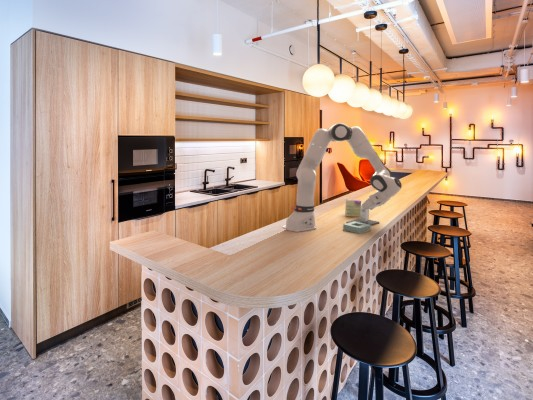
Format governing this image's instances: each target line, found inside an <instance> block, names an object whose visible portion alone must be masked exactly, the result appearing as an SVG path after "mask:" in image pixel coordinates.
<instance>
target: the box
mask: <svg viewBox="0 0 533 400" xmlns="http://www.w3.org/2000/svg"><path fill="white" fill-rule="evenodd" d="M361 205H362V200H361V199H349V198H348V199H345V208H344V209H345V212H344V215H345V217H356V218H357V217H359V218H360V211H361Z"/></svg>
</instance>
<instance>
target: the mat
mask: <svg viewBox="0 0 533 400" xmlns="http://www.w3.org/2000/svg"><path fill="white" fill-rule="evenodd" d="M354 221H356V222H360V218H357V219H353V220H349V221H346V222H345V224H346V223H350V222H354ZM360 223H361V222H360ZM365 224H369V225H371V227H372V226H375V225H378V224H380V221H377V220H373V219H369V221H368V223H365Z"/></svg>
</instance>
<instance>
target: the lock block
mask: <svg viewBox="0 0 533 400" xmlns="http://www.w3.org/2000/svg"><path fill="white" fill-rule="evenodd" d="M342 230H344V231H347V232H351V233H355V234H359V235H360V234H364V233H367V232H370V231H371V230H372V226H371V225H369V224H365V223H360V222H356V221H354V222H350V223H346V222H345V223H343V226H342Z"/></svg>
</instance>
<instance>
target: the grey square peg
mask: <svg viewBox="0 0 533 400" xmlns="http://www.w3.org/2000/svg"><path fill="white" fill-rule="evenodd" d="M362 209H363V207H362V204H361V210H362ZM369 218H370V209H366V210H365V211H364V212H362V211H360V217H359V219H360V222H361V223H368V221H369V220H370V219H369Z"/></svg>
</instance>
